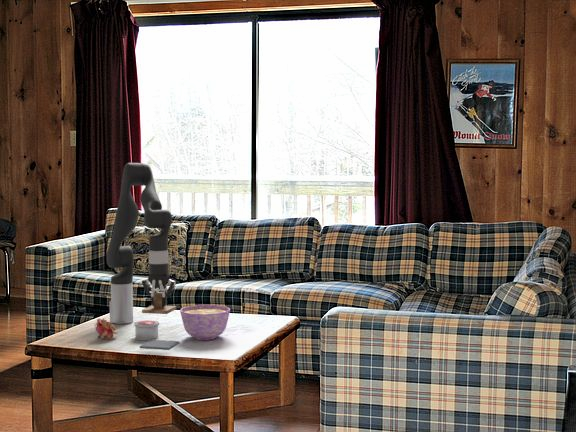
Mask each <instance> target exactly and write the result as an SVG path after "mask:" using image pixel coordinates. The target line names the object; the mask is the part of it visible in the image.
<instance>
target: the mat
mask: <svg viewBox="0 0 576 432" xmlns="http://www.w3.org/2000/svg"><path fill="white" fill-rule="evenodd" d="M178 344H180V341H179V340H165V339H164V340H163V339H152V340H147V341H146V342H144V343H142V344H141V345H139V348H140V349H156V350H171V349H172V348H174V347H175V346H177V345H178Z"/></svg>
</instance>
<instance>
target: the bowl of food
mask: <svg viewBox="0 0 576 432" xmlns="http://www.w3.org/2000/svg"><path fill="white" fill-rule="evenodd" d="M230 311H231V308H230V307H229V306H226V305H220V304H195V305H187V306H185V307H181V308H180V309H179V312H180V315H181V316H180V317H181V319H182V323H183V327H184V330H185V332H186V334H187V335H189V336H191V337H193V338H195V340H199V341H209V340H215V339H216V338H217V337H219V336H221V335H222V334H223V333H224V332H225V331H226V328H227V324H228V322H229V316H230V313H231V312H230Z"/></svg>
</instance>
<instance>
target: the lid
mask: <svg viewBox="0 0 576 432" xmlns="http://www.w3.org/2000/svg"><path fill="white" fill-rule="evenodd" d="M176 310H177V306H176V305H166V306H165V307H162V292H161V291H157V292H155V293H154V306H153V305H152V304H151V305H149V306H148V307H145V308H143V309H141V313H142V314H153V315H155V314H156V315H157V314H158V315H168V314H170V313H171V312H174V311H176Z"/></svg>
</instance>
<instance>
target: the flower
mask: <svg viewBox="0 0 576 432" xmlns="http://www.w3.org/2000/svg"><path fill="white" fill-rule="evenodd" d="M94 327H95V332H96V333H97V334H98V336H97V339H99V340H100V338H103V339H105V340H108V339H110V338H113V337H114V335H118V334H119V332H118V331H115V330H116V325H114V323H110V321H107V320H106V319H105V318H102V319H101V318H98V319H96V323H95V324H94Z"/></svg>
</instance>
